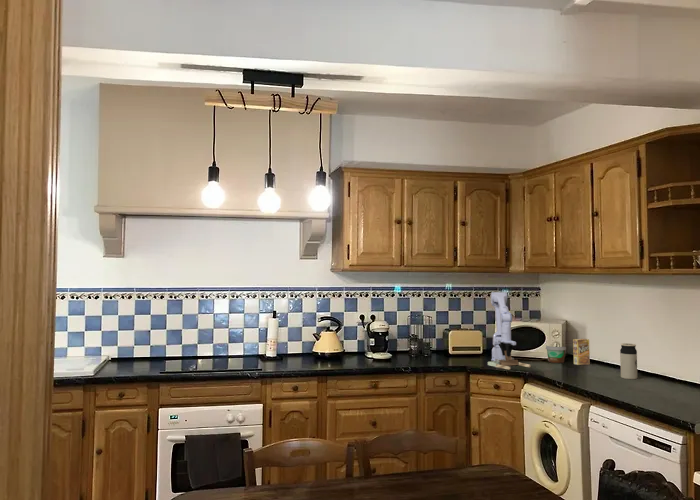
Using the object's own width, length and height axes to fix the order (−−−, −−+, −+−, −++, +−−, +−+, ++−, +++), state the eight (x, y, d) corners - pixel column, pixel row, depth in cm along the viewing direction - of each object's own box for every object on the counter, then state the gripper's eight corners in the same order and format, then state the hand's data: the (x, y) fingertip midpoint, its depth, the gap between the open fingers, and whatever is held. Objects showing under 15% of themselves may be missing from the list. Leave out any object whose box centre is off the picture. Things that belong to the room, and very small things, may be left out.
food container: (544, 362, 351) (544, 346, 351) (546, 360, 356) (545, 345, 357) (565, 363, 345) (565, 347, 346) (566, 362, 351) (566, 346, 351)
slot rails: (495, 366, 336) (495, 364, 336) (517, 364, 344) (516, 361, 344) (509, 369, 326) (509, 367, 326) (530, 367, 334) (530, 364, 334)
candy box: (578, 365, 340) (577, 339, 340) (573, 364, 344) (572, 339, 344) (590, 364, 342) (589, 339, 343) (585, 363, 346) (584, 338, 347)
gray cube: (504, 364, 345) (504, 357, 345) (510, 363, 346) (510, 357, 346) (508, 365, 341) (508, 358, 341) (514, 365, 342) (514, 358, 342)
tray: (487, 365, 342) (487, 361, 342) (508, 362, 350) (508, 359, 350) (495, 366, 336) (495, 363, 336) (517, 364, 344) (516, 361, 344)
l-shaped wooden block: (500, 366, 337) (498, 351, 339) (516, 364, 342) (513, 350, 344) (503, 366, 335) (500, 350, 337) (518, 364, 340) (516, 349, 342)
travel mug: (617, 377, 300) (617, 344, 301) (625, 376, 305) (624, 342, 306) (632, 380, 294) (631, 345, 294) (640, 378, 299) (639, 344, 299)
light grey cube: (495, 365, 341) (494, 358, 341) (500, 365, 343) (500, 358, 343) (499, 366, 337) (499, 359, 338) (504, 365, 339) (504, 359, 339)
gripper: (492, 332, 345) (493, 354, 344) (509, 334, 332) (510, 357, 332) (501, 331, 348) (501, 353, 348) (518, 334, 335) (518, 357, 335)
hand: (506, 355), depth 340 cm, fingers closed on l-shaped wooden block, 3 cm apart
